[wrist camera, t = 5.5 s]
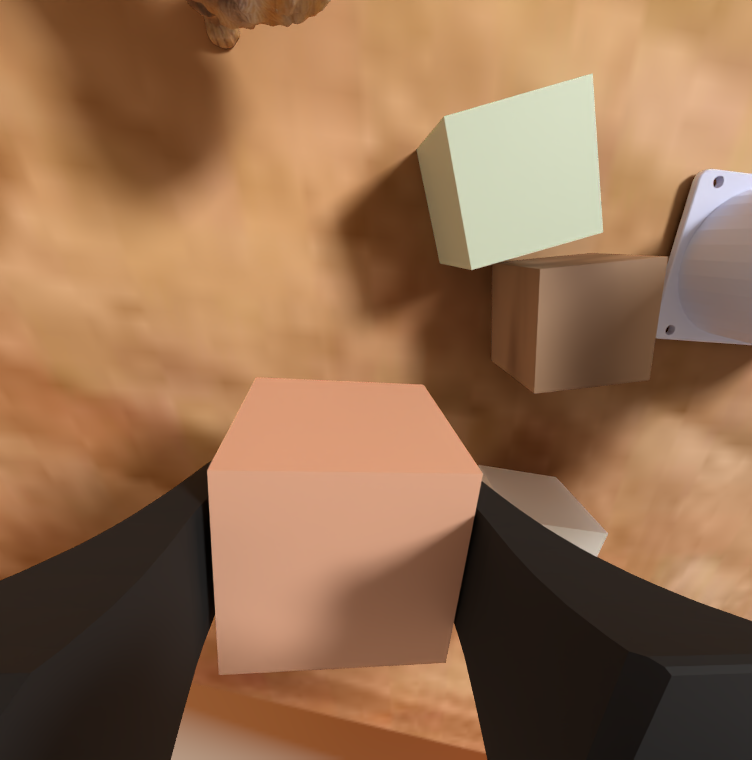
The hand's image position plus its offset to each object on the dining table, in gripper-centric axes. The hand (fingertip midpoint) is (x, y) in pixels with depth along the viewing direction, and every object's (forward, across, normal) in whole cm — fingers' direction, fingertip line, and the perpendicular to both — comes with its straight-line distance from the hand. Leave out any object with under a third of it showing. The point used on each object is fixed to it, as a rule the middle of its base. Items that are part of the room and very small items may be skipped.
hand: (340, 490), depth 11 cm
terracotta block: (+2, 0, 0) cm, 2 cm away
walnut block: (+10, -10, -4) cm, 15 cm away
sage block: (+10, -6, -9) cm, 15 cm away
